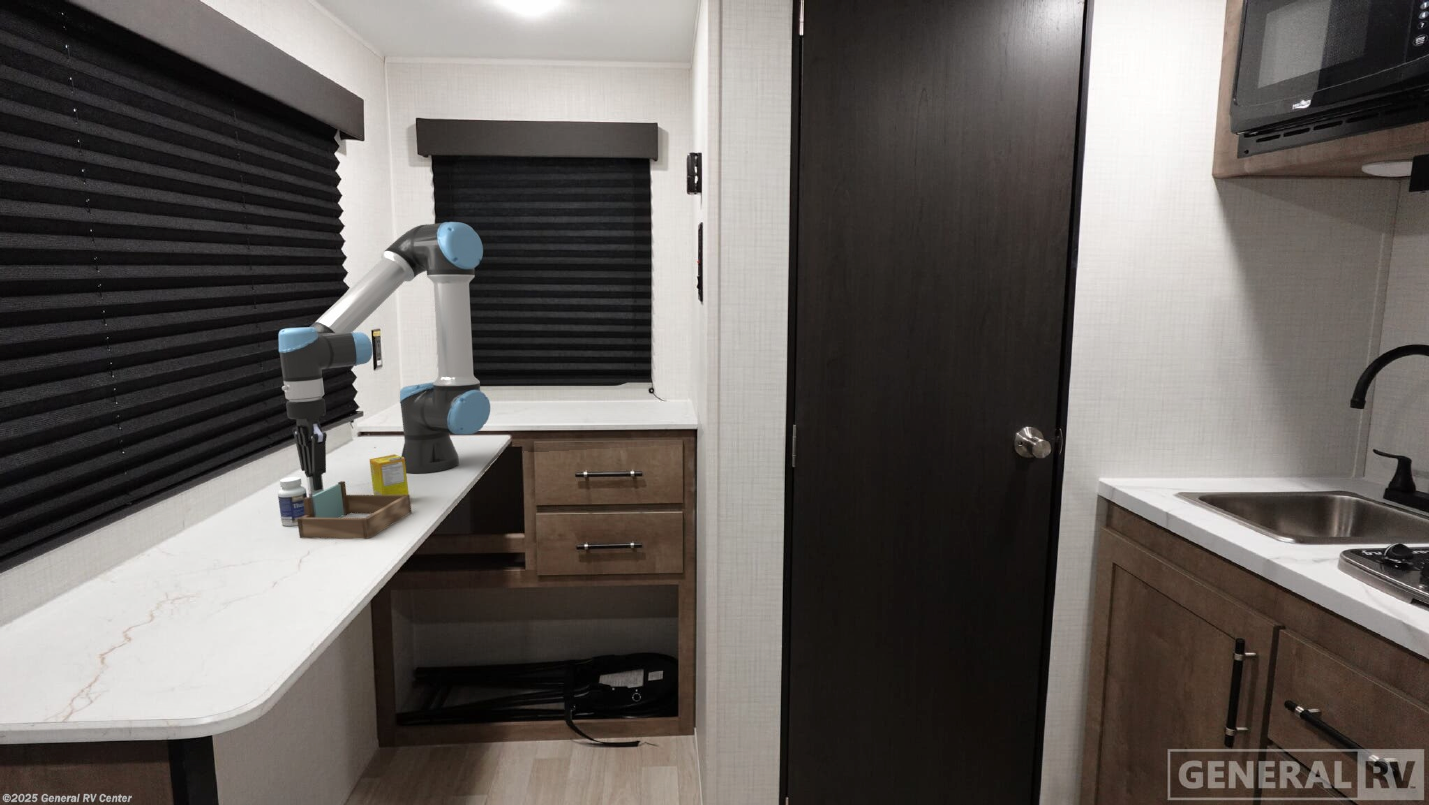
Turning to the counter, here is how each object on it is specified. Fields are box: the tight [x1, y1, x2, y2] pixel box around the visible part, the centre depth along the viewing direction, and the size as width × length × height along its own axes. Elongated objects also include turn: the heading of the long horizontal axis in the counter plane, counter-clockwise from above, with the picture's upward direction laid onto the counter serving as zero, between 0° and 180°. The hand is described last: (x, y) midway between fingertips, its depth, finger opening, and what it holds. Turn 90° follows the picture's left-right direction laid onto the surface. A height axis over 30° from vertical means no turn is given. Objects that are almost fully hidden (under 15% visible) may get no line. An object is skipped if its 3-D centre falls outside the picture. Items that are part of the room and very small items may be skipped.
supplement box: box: [369, 454, 410, 495], centre depth 179 cm, size 6×6×11 cm
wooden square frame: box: [297, 480, 412, 540], centre depth 165 cm, size 17×15×8 cm
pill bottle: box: [277, 476, 308, 527], centre depth 168 cm, size 5×5×10 cm
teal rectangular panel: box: [312, 483, 345, 518], centre depth 167 cm, size 9×1×7 cm, turn 173°
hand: (317, 503), depth 173 cm, fingers closed
